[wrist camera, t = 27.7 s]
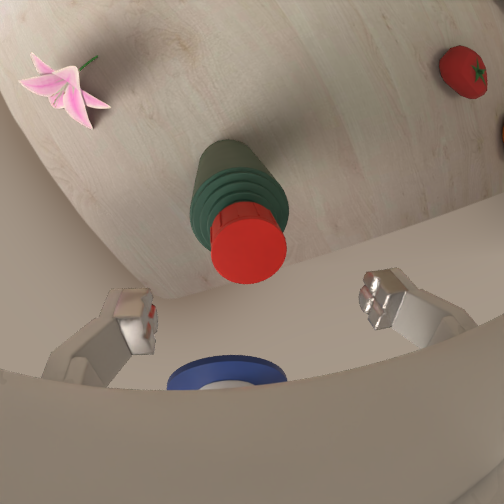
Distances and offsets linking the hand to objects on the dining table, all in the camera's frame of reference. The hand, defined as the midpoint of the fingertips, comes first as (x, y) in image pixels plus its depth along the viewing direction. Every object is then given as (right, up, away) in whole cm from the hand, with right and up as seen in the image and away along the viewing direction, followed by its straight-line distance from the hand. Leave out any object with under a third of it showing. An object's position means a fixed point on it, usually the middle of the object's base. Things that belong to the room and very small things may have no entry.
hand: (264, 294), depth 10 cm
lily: (-20, +20, +12) cm, 31 cm away
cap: (-1, +2, +4) cm, 5 cm away
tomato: (+29, +28, +15) cm, 43 cm away
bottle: (-3, +11, +20) cm, 23 cm away
